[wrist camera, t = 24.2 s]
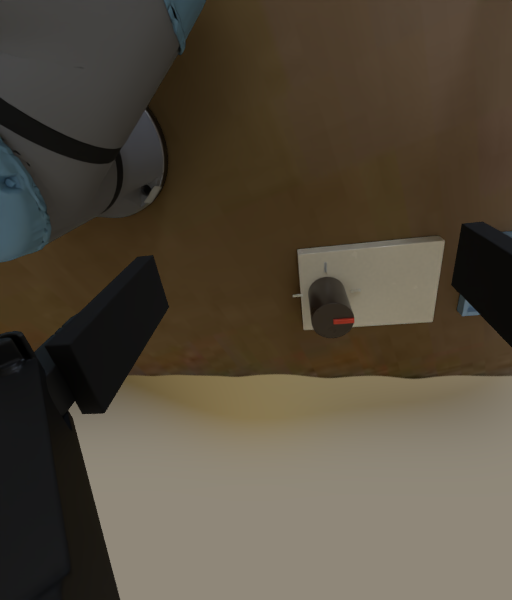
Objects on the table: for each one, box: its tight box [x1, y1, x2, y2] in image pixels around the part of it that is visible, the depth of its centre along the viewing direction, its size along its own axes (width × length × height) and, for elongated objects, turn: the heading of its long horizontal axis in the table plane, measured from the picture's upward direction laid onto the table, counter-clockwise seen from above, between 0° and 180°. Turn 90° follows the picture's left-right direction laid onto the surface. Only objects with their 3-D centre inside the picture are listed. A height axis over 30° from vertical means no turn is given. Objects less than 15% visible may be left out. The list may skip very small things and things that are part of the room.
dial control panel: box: [293, 236, 445, 330], centre depth 45 cm, size 19×12×2 cm, turn 98°
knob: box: [308, 277, 354, 338], centre depth 42 cm, size 5×5×7 cm
